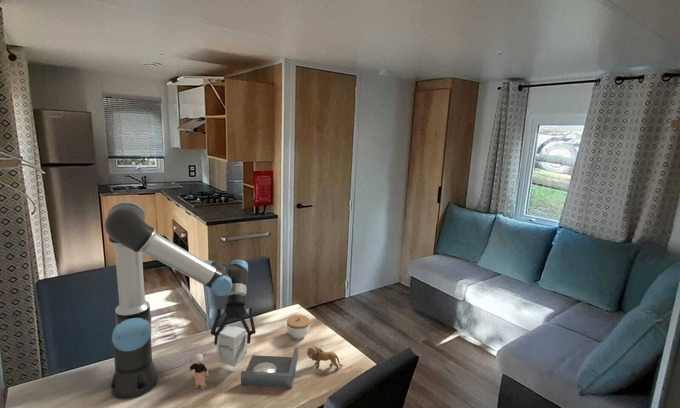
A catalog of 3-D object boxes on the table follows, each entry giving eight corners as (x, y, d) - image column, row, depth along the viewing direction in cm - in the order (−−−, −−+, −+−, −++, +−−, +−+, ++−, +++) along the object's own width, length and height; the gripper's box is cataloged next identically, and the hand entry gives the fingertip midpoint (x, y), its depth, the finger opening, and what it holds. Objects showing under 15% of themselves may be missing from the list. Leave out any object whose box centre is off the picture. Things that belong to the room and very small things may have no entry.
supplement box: (218, 362, 139) (218, 332, 137) (231, 352, 146) (231, 323, 144) (233, 368, 137) (234, 337, 134) (246, 357, 144) (246, 328, 141)
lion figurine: (306, 370, 143) (307, 350, 142) (306, 362, 149) (307, 342, 147) (343, 371, 144) (344, 351, 143) (342, 362, 149) (343, 343, 148)
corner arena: (240, 385, 133) (240, 373, 132) (252, 356, 151) (252, 345, 150) (291, 388, 133) (292, 376, 132) (297, 358, 151) (298, 347, 150)
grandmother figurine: (211, 382, 134) (210, 352, 132) (208, 389, 130) (207, 358, 128) (191, 381, 134) (189, 351, 132) (186, 388, 130) (185, 357, 128)
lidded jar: (308, 342, 162) (309, 323, 161) (284, 341, 162) (285, 322, 161) (310, 330, 173) (311, 312, 171) (288, 329, 173) (288, 311, 171)
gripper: (264, 299, 155) (261, 354, 143) (209, 299, 151) (202, 356, 139) (263, 292, 149) (261, 349, 136) (207, 293, 145) (199, 352, 133)
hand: (231, 353), depth 138 cm, fingers closed on supplement box, 10 cm apart
